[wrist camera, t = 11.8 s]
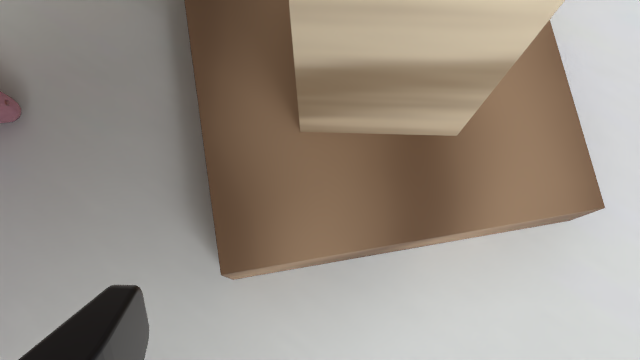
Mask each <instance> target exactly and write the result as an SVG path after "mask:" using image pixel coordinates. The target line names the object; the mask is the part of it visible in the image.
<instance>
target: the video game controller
mask: <svg viewBox="0 0 640 360" xmlns="http://www.w3.org/2000/svg"><path fill="white" fill-rule="evenodd" d="M20 115H21V108H20V106H19V104H18V103H17V102H16V101H15V100H14V99H12V98H11V97H9V96H8V95H6V94H4V93H2V92H1V91H0V123H7V122H13V121H15V120H17V119H18V118H19V117H20Z"/></svg>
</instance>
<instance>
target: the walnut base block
mask: <svg viewBox="0 0 640 360" xmlns="http://www.w3.org/2000/svg"><path fill="white" fill-rule="evenodd" d="M184 1H185V8H186V16H187V23H188V31H189V38H190V46H191V53H192V61H193V68H194V76H195V83H196V91H197V98H198V106H199V113H200V121H201V128H202V136H203V144H204V151H205V159H206V166H207V174H208V181H209V189H210V196H211V204H212V211H213V219H214V226H215V234H216V241H217V249H218V256H219V264H220V271H221V275H222V276H225V277H228V278H230V279H233V280H234V279H239V278H245V277H251V276H256V275H262V274H268V273H274V272H279V271H285V270H291V269H296V268H302V267H308V266H313V265H319V264H325V263H331V262H336V261H342V260H348V259H353V258H359V257H365V256H370V255H376V254H382V253H388V252H393V251H399V250H405V249H410V248H416V247H422V246H428V245H433V244H439V243H445V242H450V241H456V240H462V239H467V238H473V237H479V236H485V235H490V234H496V233H502V232H507V231H513V230H519V229H524V228H530V227H536V226H542V225H547V224H553V223H559V222H564V221H570V220H573V219H575V218H578V217H581V216H584V215H586V214H589V213H592V212H595V211H598V210H600V209H603V208H605V206H604V203H603V199H602V196H601V193H600V189H599V186H598V182H597V179H596V176H595V172H594V169H593V165H592V162H591V159H590V155H589V152H588V148H587V145H586V142H585V138H584V135H583V131H582V128H581V125H580V121H579V118H578V114H577V111H576V108H575V104H574V101H573V97H572V94H571V91H570V87H569V84H568V80H567V77H566V74H565V70H564V67H563V63H562V60H561V57H560V53H559V50H558V46H557V43H556V40H555V36H554V33H553V29H552V26H551V23H550V20H549V21H548V22H547V23H546V25H545V26H544V27H543V28H542V30H541V31H540V32H539V33H538V35H537V36H536V37H535V38H534V40H533V41H532V42H531V43H530V45H529V46H528V47H527V49H526V50H525V51H524V52H523V54H522V55H521V56H520V57H519V59H518V60H517V61H516V62H515V64H514V65H513V66H512V67H511V69H510V70H509V71H508V72H507V74H506V75H505V76H504V77H503V79H502V80H501V81H500V82H499V84H498V85H497V86H496V87H495V89H494V90H493V91H492V92H491V94H490V95H489V96H488V97H487V99H486V100H485V101H484V102H483V104H482V105H481V106H480V107H479V109H478V110H477V111H476V112H475V114H474V115H473V116H472V117H471V119H470V120H469V121H468V122H467V124H466V125H465V126H464V127H463V129H462V130H461V131H460V132H459V134H458V135H457V136H444V135H404V134H364V133H324V132H300V123H299V112H298V100H297V89H296V77H295V66H294V54H293V43H292V31H291V20H290V8H289V0H184Z"/></svg>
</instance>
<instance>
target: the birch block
mask: <svg viewBox="0 0 640 360" xmlns="http://www.w3.org/2000/svg"><path fill="white" fill-rule="evenodd" d="M564 1H565V0H289V8H290V20H291V31H292V43H293V54H294V66H295V77H296V89H297V100H298V112H299V123H300V132H324V133H364V134H404V135H444V136H457V135H458V134H459V132H460V131H461V130H462V129H463V127H464V126H465V125H466V124H467V122H468V121H469V120H470V119H471V117H472V116H473V115H474V114H475V112H476V111H477V110H478V109H479V107H480V106H481V105H482V104H483V102H484V101H485V100H486V99H487V97H488V96H489V95H490V94H491V92H492V91H493V90H494V89H495V87H496V86H497V85H498V84H499V82H500V81H501V80H502V79H503V77H504V76H505V75H506V74H507V72H508V71H509V70H510V69H511V67H512V66H513V65H514V64H515V62H516V61H517V60H518V59H519V57H520V56H521V55H522V54H523V52H524V51H525V50H526V49H527V47H528V46H529V45H530V43H531V42H532V41H533V40H534V38H535V37H536V36H537V35H538V33H539V32H540V31H541V30H542V28H543V27H544V26H545V25H546V23H547V22H548V21H549V20H550V18H551V17H552V16H553V15H554V13H555V12H556V11H557V10H558V8H559V7H560V6H561V5H562V3H563V2H564Z"/></svg>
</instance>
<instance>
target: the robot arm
mask: <svg viewBox="0 0 640 360" xmlns="http://www.w3.org/2000/svg"><path fill="white" fill-rule="evenodd" d="M148 339H149V324H148V319H147V313H146V308H145V303H144V298H143V293H142V291H141V289H140V287H138V286H136V285H112V286H110V287H108V288H107V289H105V290H104V291H103V292H102V293H100V294H99V295H98V296H97V297H95V298H94V299H93V300H92V301H90V302H89V303H88V304H87V305H85V306H84V307H83V308H82V309H81V310H79V311H78V312H77V313H76V314H74V315H73V316H72V317H71V318H69V319H68V320H67V321H66V322H64V323H63V324H62V325H61V326H59V327H58V328H57V329H56V330H55V331H53V332H52V333H51V334H50V335H48V336H47V337H46V338H45V339H43V340H42V341H41V342H40V343H38V344H37V345H36V346H35V347H33V348H32V349H31V350H30V351H29V352H27V353H26V354H25V355H24V356H22V357H21V358H20V359H19V360H144V358H145V353H146V349H147V344H148Z"/></svg>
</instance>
